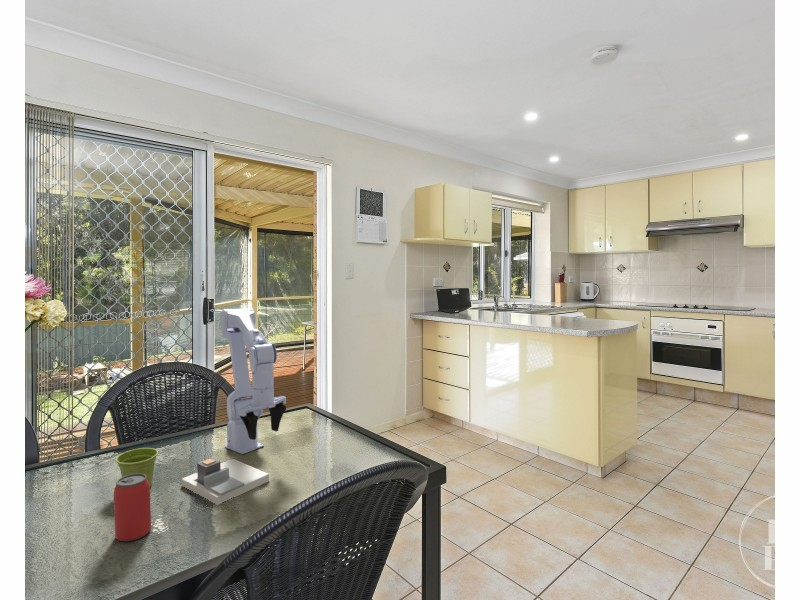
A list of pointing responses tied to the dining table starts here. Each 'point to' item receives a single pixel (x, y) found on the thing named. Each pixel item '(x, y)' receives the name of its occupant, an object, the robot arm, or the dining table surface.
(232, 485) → the shutter
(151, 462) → the plant pot
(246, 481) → the socket board
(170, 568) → the dining table surface
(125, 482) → the beer can
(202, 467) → the grey rectangular block
